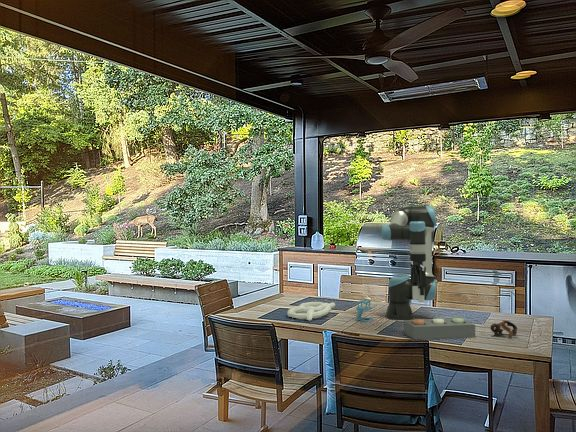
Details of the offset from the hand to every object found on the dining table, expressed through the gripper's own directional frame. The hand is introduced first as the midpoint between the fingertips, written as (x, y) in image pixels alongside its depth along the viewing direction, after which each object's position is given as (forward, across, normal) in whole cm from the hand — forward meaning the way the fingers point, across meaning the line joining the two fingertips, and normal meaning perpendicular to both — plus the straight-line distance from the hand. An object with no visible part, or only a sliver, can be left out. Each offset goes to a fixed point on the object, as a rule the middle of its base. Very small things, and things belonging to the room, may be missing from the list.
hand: (418, 300), depth 226 cm
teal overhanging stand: (+17, -38, -17) cm, 45 cm away
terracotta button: (+13, 0, 0) cm, 13 cm away
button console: (+17, 0, +10) cm, 20 cm away
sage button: (+13, 0, +20) cm, 24 cm away
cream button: (+13, 0, +10) cm, 16 cm away
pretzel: (+17, -54, -45) cm, 72 cm away
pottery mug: (+17, +6, +39) cm, 43 cm away
